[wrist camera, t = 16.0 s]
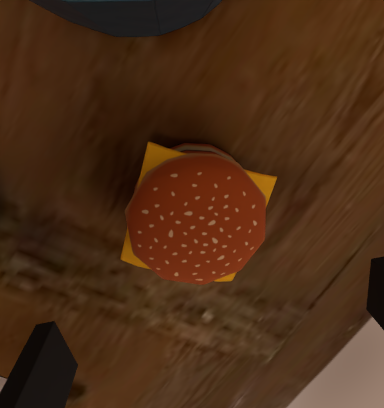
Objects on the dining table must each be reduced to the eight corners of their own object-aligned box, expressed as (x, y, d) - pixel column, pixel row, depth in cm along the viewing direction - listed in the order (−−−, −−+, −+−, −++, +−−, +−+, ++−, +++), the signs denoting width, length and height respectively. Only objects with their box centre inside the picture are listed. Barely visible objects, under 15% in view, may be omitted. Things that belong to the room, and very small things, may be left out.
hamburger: (230, 254, 26) (249, 311, 20) (122, 234, 24) (107, 289, 18) (269, 154, 22) (306, 185, 16) (144, 122, 20) (134, 144, 14)
